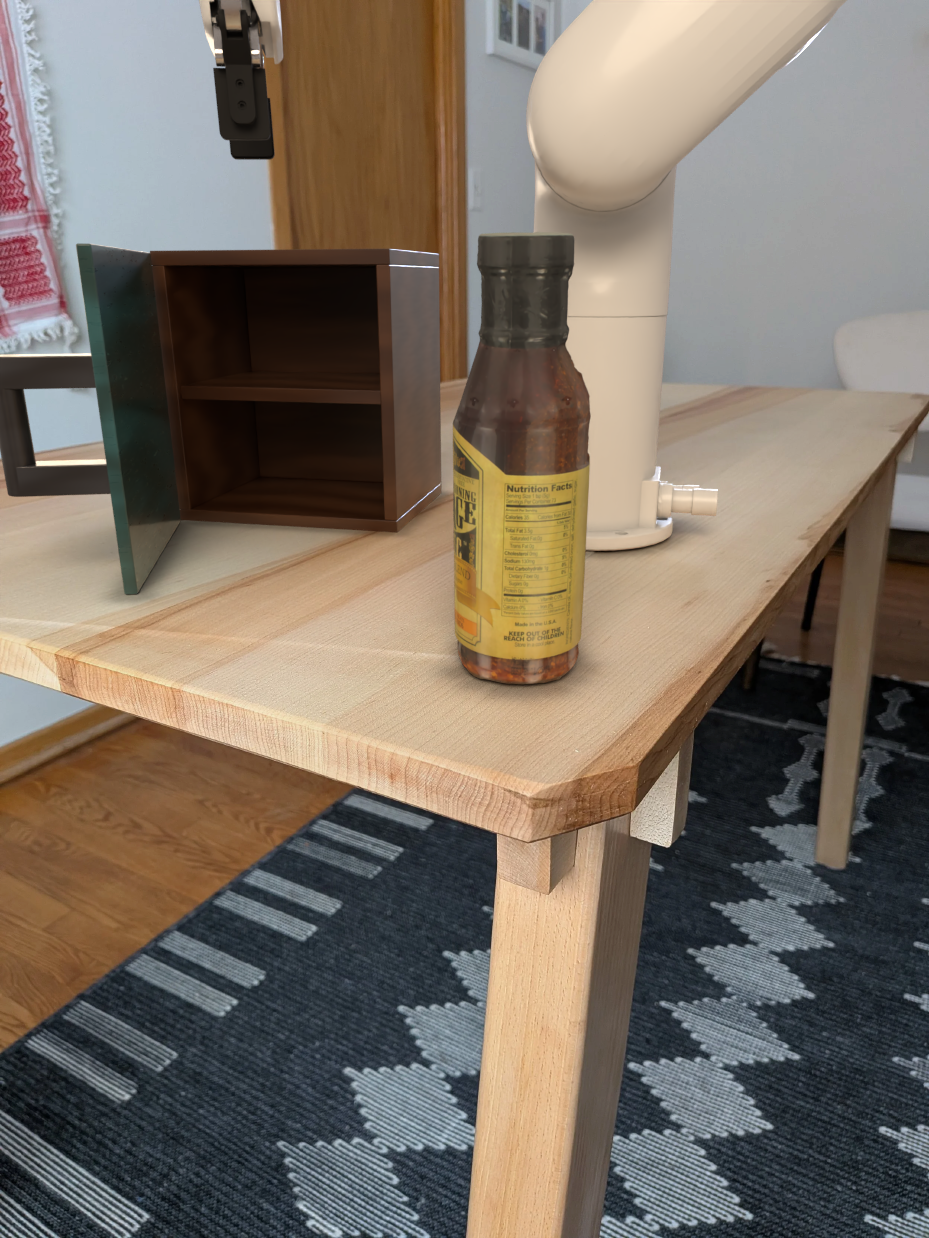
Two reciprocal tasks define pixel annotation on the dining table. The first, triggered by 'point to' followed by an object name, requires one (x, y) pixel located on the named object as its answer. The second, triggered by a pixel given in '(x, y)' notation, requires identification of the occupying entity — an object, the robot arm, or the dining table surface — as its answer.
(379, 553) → the dining table surface
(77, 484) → the cupboard door
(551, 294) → the sauce bottle
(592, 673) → the dining table surface
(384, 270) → the cupboard
